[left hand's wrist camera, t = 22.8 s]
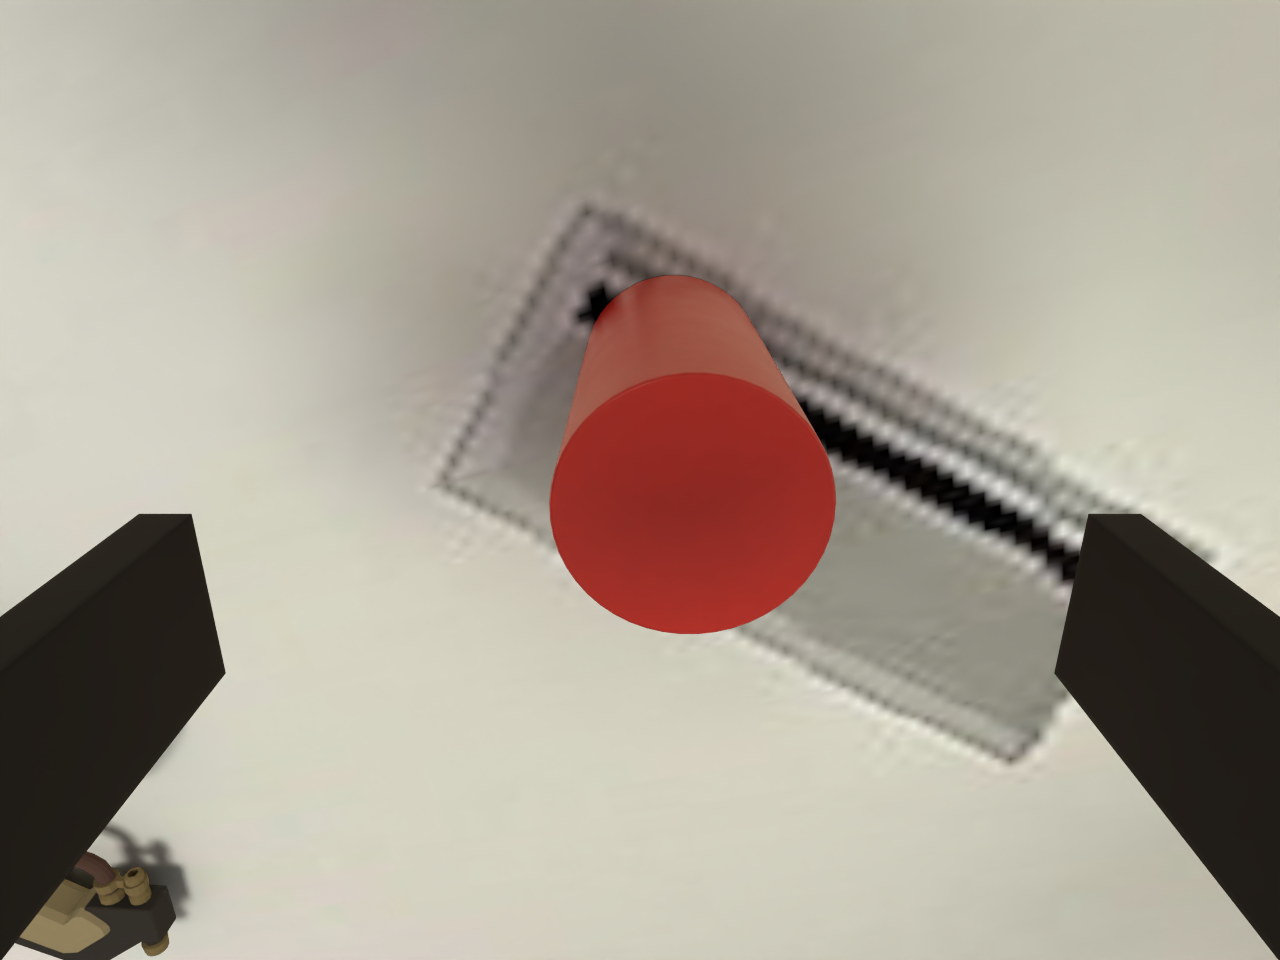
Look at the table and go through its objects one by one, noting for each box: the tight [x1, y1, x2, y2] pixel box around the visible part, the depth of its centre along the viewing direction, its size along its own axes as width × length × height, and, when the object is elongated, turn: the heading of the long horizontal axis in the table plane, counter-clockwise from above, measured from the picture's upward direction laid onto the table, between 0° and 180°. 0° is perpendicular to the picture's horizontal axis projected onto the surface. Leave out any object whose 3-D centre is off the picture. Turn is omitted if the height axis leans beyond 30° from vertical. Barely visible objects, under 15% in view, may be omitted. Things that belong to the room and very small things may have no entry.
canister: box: [549, 275, 836, 634], centre depth 24 cm, size 6×6×13 cm
